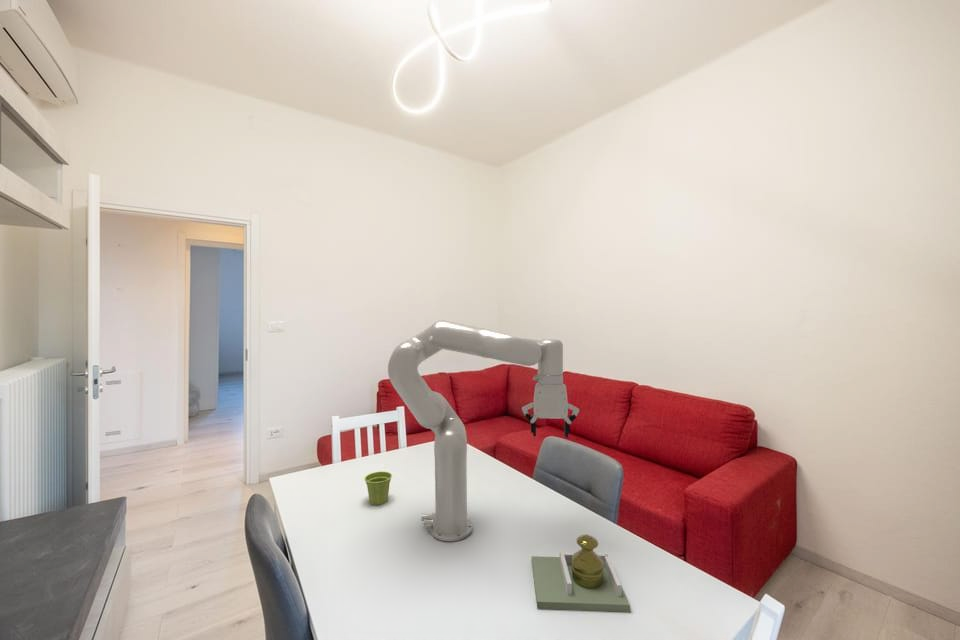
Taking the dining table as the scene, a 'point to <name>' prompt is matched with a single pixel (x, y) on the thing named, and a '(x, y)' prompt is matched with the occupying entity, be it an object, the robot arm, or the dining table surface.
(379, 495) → the plant pot
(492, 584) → the dining table surface
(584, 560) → the olive rounded stacked piece
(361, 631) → the dining table surface
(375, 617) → the dining table surface
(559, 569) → the board with raised rails
